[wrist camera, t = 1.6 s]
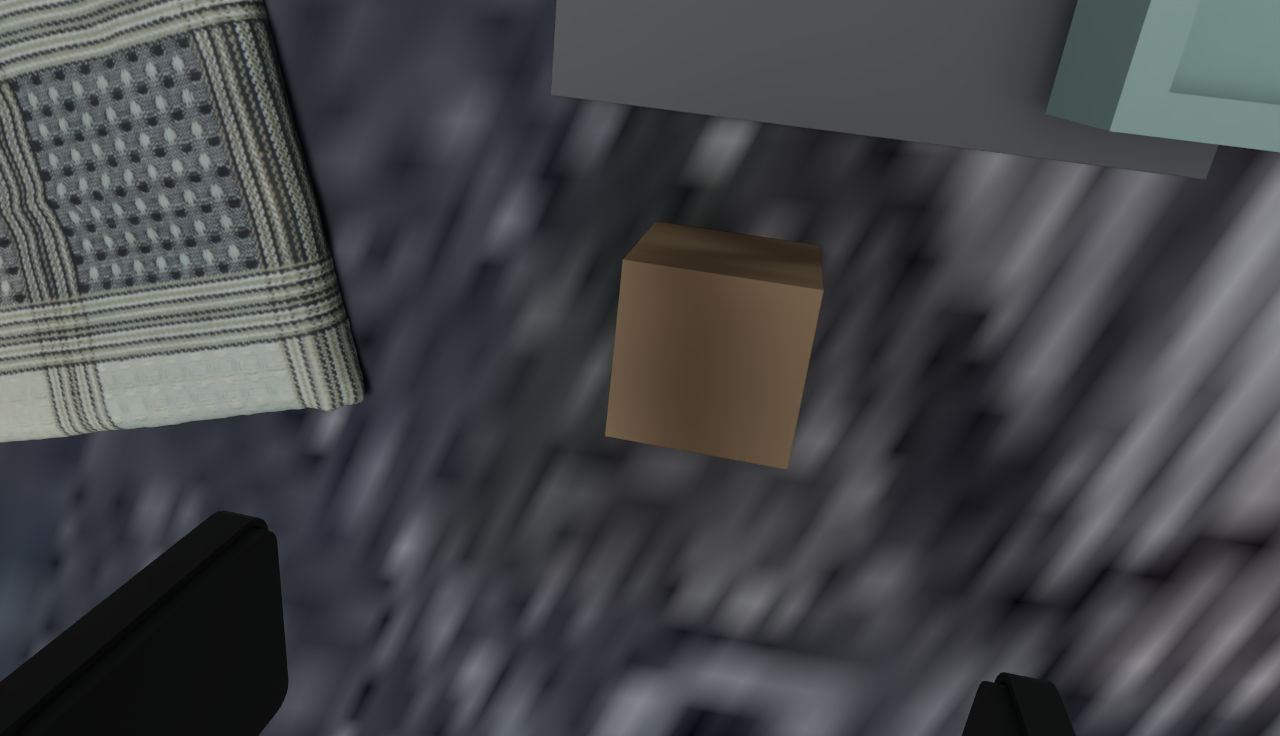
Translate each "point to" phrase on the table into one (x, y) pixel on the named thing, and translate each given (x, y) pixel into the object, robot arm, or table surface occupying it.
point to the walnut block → (714, 342)
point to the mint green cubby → (1174, 70)
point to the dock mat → (853, 71)
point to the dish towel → (157, 223)
